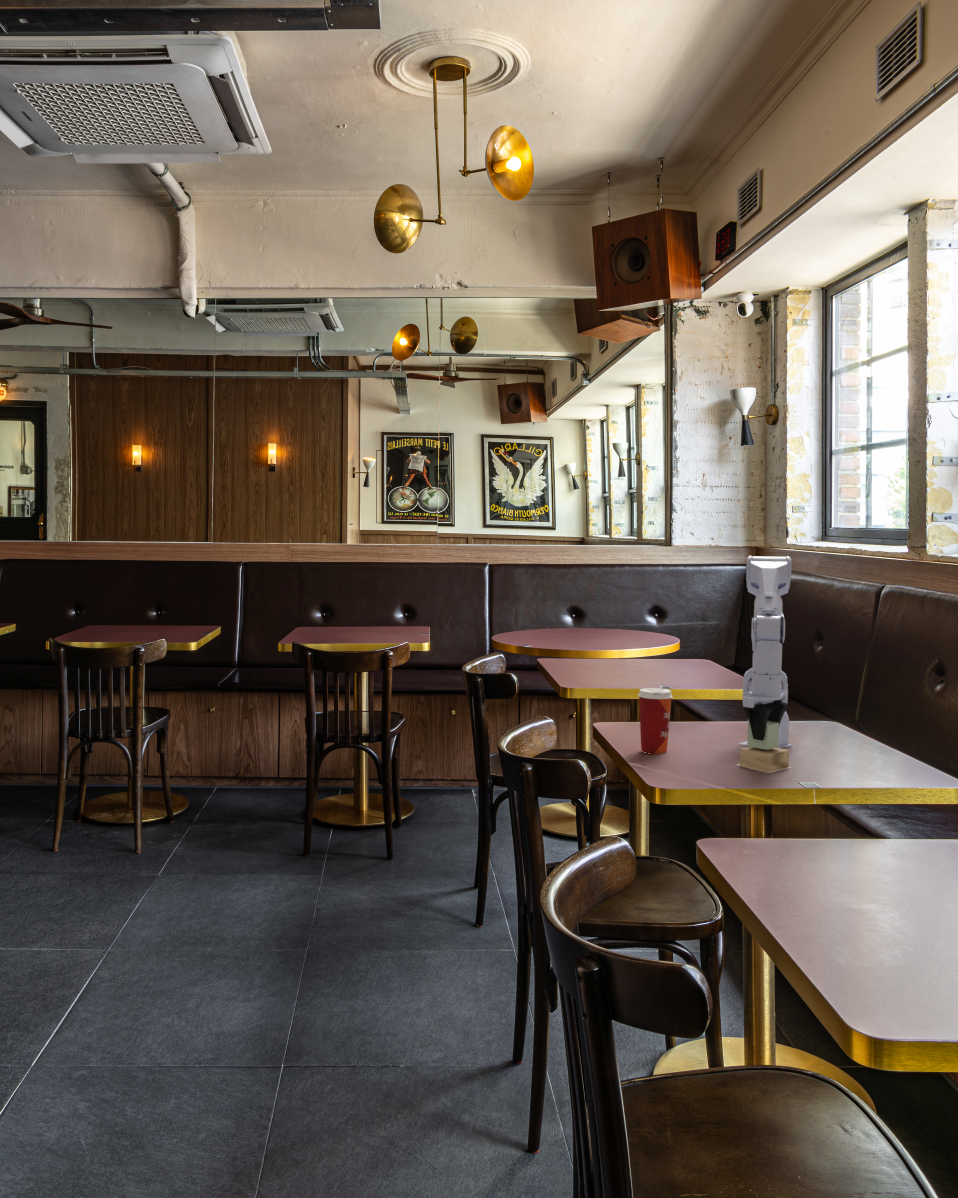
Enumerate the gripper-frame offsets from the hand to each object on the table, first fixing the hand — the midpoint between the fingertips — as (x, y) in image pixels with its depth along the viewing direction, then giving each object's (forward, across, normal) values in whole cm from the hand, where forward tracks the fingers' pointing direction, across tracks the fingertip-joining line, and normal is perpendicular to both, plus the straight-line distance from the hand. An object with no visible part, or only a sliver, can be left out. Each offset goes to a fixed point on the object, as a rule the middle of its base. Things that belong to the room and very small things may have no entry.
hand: (764, 738), depth 181 cm
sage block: (+2, 0, 0) cm, 2 cm away
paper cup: (+7, +6, -24) cm, 25 cm away
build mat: (+6, 0, 0) cm, 6 cm away
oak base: (+6, 0, 0) cm, 6 cm away
